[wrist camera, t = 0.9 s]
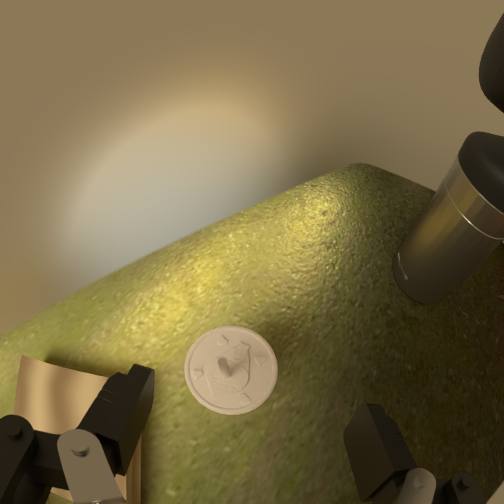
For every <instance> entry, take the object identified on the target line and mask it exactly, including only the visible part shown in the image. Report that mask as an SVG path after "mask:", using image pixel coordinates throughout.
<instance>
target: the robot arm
mask: <svg viewBox="0 0 504 504" xmlns="http://www.w3.org/2000/svg"><path fill="white" fill-rule="evenodd" d="M479 82H480V86H481V89H482V91H483V93H484V95H485V96H486V97H487V99H488V100H490V102H492V104H494V105H495V106H496V107H497V108H498V109H499V110H500V111H502V112H503V113H504V13H503V15H502V17H501V18H500V20H499V22H498V23H497V25H496V27H495V29H494V30H493V32H492V34H491V36H490V38H489V40H488V42H487V44H486V46H485V49H484V52H483V55H482V57H481V61H480V66H479ZM503 240H504V137H503V136H498V135H494V134H490V133H486V132H473V133H471V134H470V135H469V136H468V137H467V138H466V140H465V141H464V143H463V145H462V147H461V149H460V151H459V153H458V155H457V156H456V158H455V160H454V162H453V164H452V165H451V167H450V169H449V171H448V173H447V174H446V176H445V178H444V180H443V181H442V183H441V185H440V186H439V188H438V190H437V191H436V193H435V195H434V196H433V198H432V199H431V201H430V203H429V204H428V206H427V207H426V209H425V211H424V212H423V214H422V215H421V217H420V218H419V220H418V221H417V223H416V224H415V226H414V227H413V229H412V230H411V232H410V233H409V235H408V236H407V237H406V239H405V240H404V242H403V243H402V245H401V246H400V247H399V249H398V250H397V252H396V253H395V255H394V258H393V273H394V276H395V279H396V281H397V283H398V285H399V286H400V288H401V289H402V290H403V291H404V293H406V294H407V295H408V296H409V297H410V298H412V299H413V300H415V301H417V302H419V303H422V304H434V303H437V302H439V301H440V300H441V299H442V298H444V297H445V296H446V295H447V294H448V293H450V292H452V291H453V290H454V289H455V288H456V287H458V286H459V285H460V284H461V283H462V282H463V281H464V280H465V279H466V278H467V277H469V276H470V275H471V274H472V273H473V272H474V271H475V270H476V269H477V268H478V267H479V266H480V265H481V264H482V263H483V262H484V261H485V260H486V259H487V258H488V257H489V256H490V254H491V253H492V252H493V251H494V250H495V249H496V248H497V247H498V245H499V244H500V243H501V242H502V241H503ZM153 393H154V369H151V368H148V367H144V366H141V365H138V364H134V365H133V366H132V368H131V370H130V371H129V373H128V375H125V374H122V373H119V372H118V373H116V374H115V375H113V376H111V377H110V378H108V379H107V381H106V382H105V384H104V385H103V387H102V390H100V392H99V393H98V395H97V398H95V400H94V401H93V403H92V404H91V406H90V407H89V409H88V411H87V412H86V414H85V415H84V417H83V419H82V420H81V422H80V424H79V425H78V426H77V428H75V429H72V430H68V431H66V432H64V433H63V434H52V433H47V432H43V431H38V430H34V429H33V427H32V425H31V424H30V422H29V421H28V420H27V419H25V418H24V417H21V416H19V415H7V416H4V417H2V418H1V419H0V504H45V503H46V501H47V498H48V496H49V494H50V491H51V489H52V487H54V488H58V489H63V490H68V491H70V493H71V496H72V499H73V502H74V504H128V503H127V501H126V500H125V499H124V497H123V495H122V493H121V491H120V489H119V487H118V485H117V483H116V480H115V476H116V474H118V475H121V476H124V477H125V475H126V473H127V470H128V467H129V465H130V462H131V459H132V457H133V454H134V451H135V449H136V446H137V444H138V441H139V439H140V436H141V433H142V431H143V428H144V426H145V423H146V421H147V418H148V416H149V413H150V411H151V407H152V403H153ZM344 443H345V446H346V450H347V453H348V457H349V460H350V464H351V467H352V471H353V475H354V478H355V482H356V485H357V489H358V493H359V497H360V500H361V503H362V502H369V501H372V502H373V504H486V502H485V500H484V498H483V495H482V493H481V491H480V489H479V487H478V485H477V483H476V481H475V479H474V478H473V476H472V475H470V474H469V473H466V472H458V473H456V474H455V475H454V476H453V477H452V478H451V479H450V480H443V479H435V478H434V476H433V475H432V474H431V473H430V472H429V471H427V470H425V469H422V468H417V466H416V463H415V461H414V459H413V457H412V455H411V453H410V451H409V448H408V446H407V444H406V442H404V438H403V436H402V435H401V432H400V430H399V428H398V426H397V424H396V423H395V422H394V421H393V420H392V419H391V418H390V417H389V416H386V414H385V412H384V410H383V408H382V406H381V405H380V404H362V405H360V407H359V408H358V410H357V411H356V413H355V415H354V416H353V418H352V419H351V421H350V422H349V424H348V426H347V427H346V429H345V432H344Z"/></svg>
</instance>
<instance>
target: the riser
mask: <svg viewBox="0 0 504 504" xmlns="http://www.w3.org/2000/svg"><path fill="white" fill-rule="evenodd" d="M107 379H108V377H103V376H98V375H93V374H89V373H84V372H80V371H76V370H72V369H68V368H64V367H60V366H56V365H52V364H49V363H45V362H42V361H38V360H35V359H32V358H29V357H26V356H23V355H22V358H21V363H20V369H19V375H18V382H17V389H16V397H15V407H14V415H19V416H21V417H24V418H25V419H27V420H28V421H29V422H30V424H31V425H32V427H33V429H34V430H38V431H43V432H47V433H52V434H63V433H64V432H66V431H68V430H72V429H75V428H77V426H78V425H79V424H80V422H81V420H82V419H83V417H84V415H85V414H86V412H87V411H88V409H89V407H90V406H91V404H92V403H93V401H94V400H95V398H97V395H98V393H99V392H100V390H102V387H103V385H104V384H105V382H106V381H107ZM141 444H142V433H141V436H140V439H139V441H138V444H137V446H136V449H135V451H134V454H133V457H132V459H131V462H130V465H129V467H128V470H127V473H126V475H125V477H124V476H121V475H118V474H116V476H115V480H116V483H117V485H118V487H119V489H120V491H121V493H122V495H123V497H124V499H125V500H126V501H127V503H128V504H141ZM50 492H52V493H54V494H57V495H59V496H61V497H63V498H66V499H68V500H70V501H73V499H72V496H71V493H70V491H68V490H63V489H58V488H54V487H52V489H51V491H50Z"/></svg>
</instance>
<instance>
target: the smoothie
mask: <svg viewBox="0 0 504 504" xmlns="http://www.w3.org/2000/svg"><path fill="white" fill-rule="evenodd" d="M277 374H278V366H277V360H276V356H275V354H274V351H273V350H272V348H271V346H270V345H269V344H268V342H267V341H266V340H265V339H264V338H263V337H262V336H260V335H259V334H258V333H256V332H254V331H252V330H250V329H248V328H245V327H241V326H221V327H217V328H214V329H211V330H209V331H207V332H206V333H204V334H203V335H201V336H200V337H199V338H198V339H197V340H196V341H195V342H194V343H193V345H192V346H191V348H190V349H189V351H188V354H187V356H186V360H185V378H186V382H187V385H188V387H189V389H190V391H191V393H192V394H193V395H194V397H195V398H196V399H197V400H198V401H199V402H200V403H201V404H203V405H204V406H205V407H207V408H208V409H210V410H213V411H215V412H218V413H220V414H229V415H236V414H243V413H247V412H249V411H251V410H254V409H256V408H257V407H259V406H260V405H261V404H262V403H264V402H265V401H266V400H267V398H268V397H269V396H270V394H271V393H272V391H273V389H274V386H275V383H276V381H277Z"/></svg>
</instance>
